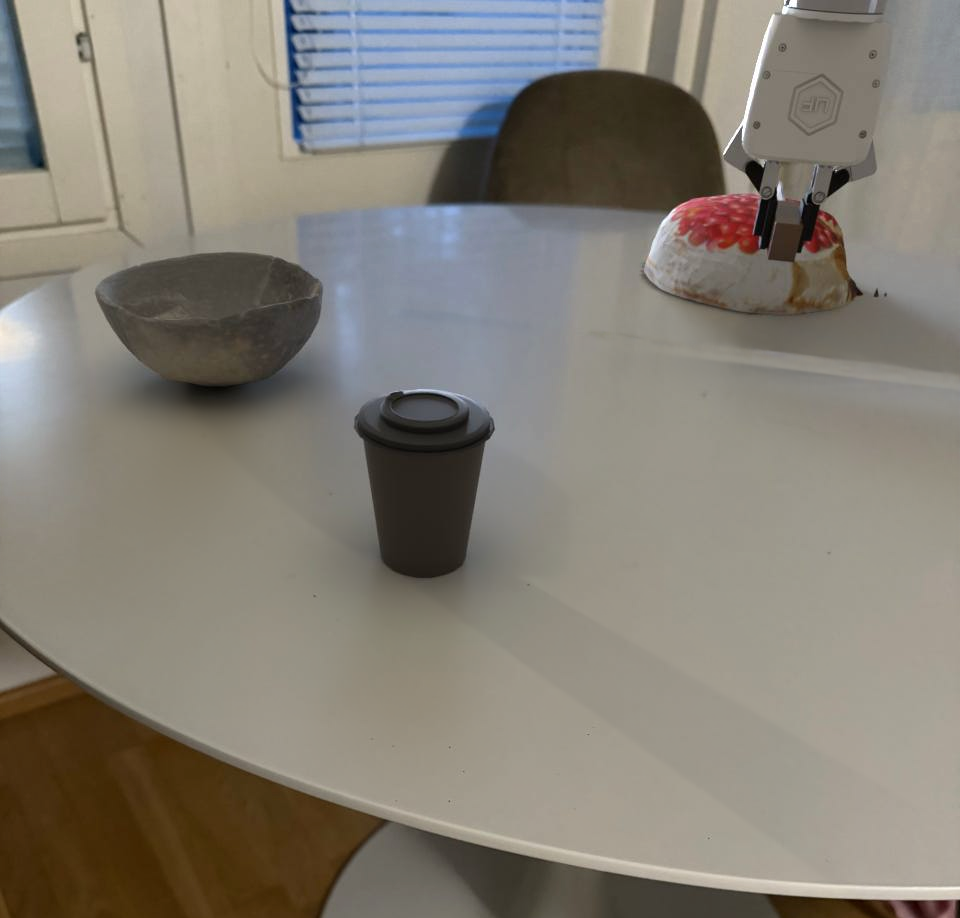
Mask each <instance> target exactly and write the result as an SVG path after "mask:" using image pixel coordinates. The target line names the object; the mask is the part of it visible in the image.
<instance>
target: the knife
mask: <svg viewBox="0 0 960 918" xmlns="http://www.w3.org/2000/svg"><path fill="white" fill-rule="evenodd" d="M776 188H777V199H778V205H777V210H776V215H775V217H774V221H773V226H772V230H771V235H770V240H769V244H768V248H767V255H768V260H775V261H785V262H794V261H795V257H796V253H797V248H798V244H799V240H800V236H801V232H802V228H803V224H802V219H801V215H800V210H799V204H798V202H792V201H785V198H786V196H785V195H786V194H785V188H784V184H783V180H779V181H778V184H777V187H776Z"/></svg>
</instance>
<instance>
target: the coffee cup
mask: <svg viewBox="0 0 960 918" xmlns="http://www.w3.org/2000/svg"><path fill="white" fill-rule="evenodd" d="M353 430H354V431H355V432H356V434H357V436H358V437H359V438H361V440H362V441H363V442H362V443H363V448H364V455H365V460H366V467H367V468H366V469H367V473H368V481H369V487H370V493H371V500H372V505H373V506H372V507H373V511H374V512H373V513H374V520H375V525H376V526H375V527H376V531H377V533H376V534H377V538H378V539H377V540H378V544H379V545H378V547H379V551H380V558H381V559H382V561H383V563H384V565H386V566H387V568H389V569H391V570H392V571H394V572H396V573H399V574H402V575H404V576H410V577H416V578H433V577H439V576H444V575H447V574H449V573H451V572H454V571H455V570H457V569H459V568H460V567H461V566H462V565H463V563H464V561H466V557H467V551H468V546H469V541H470V534H471V529H472V522H473V517H474V516H473V515H474V511H475V506H476V499H477V493H478V489H479V487H478V486H479V481H480V475H481V470H482V465H483V458H484V452H485V447H486V442H487V441H489V440H490V439H491V437H492V436H493V433H494V432H495V430H496V427H495V421H494V418H493V417H491V414H490V412H489V411H488V409H487V408H486V406H484V405H483V404H482V403H481V402H478V401H477V400H475V399H473V398H471V397H469V396H467V395H466V396H465V395H463V394H460V393H456V392H451V391H446V390H440V389H439V390H437V389H427V388H426V389H425V388H424V389H423V388H421V389H419V388H418V389H404V390H400V389H399V390H396V391H392V392H387V393H384V394H381V395H378V396H376V397H373V398H371V399H370V400H368V401H366V402H365V403H364V404H363V405H362V406H361V407H360V409H359V411H358V413H357V414H356V415H355V417H354V422H353Z"/></svg>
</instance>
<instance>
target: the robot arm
mask: <svg viewBox="0 0 960 918" xmlns="http://www.w3.org/2000/svg"><path fill="white" fill-rule="evenodd" d="M783 4H784V5H783V7H782V11H776V12H774V13H772V16H771V18H770V20H769V23H768V26H767V29H766V32H765V34H764V37H763V41H762V44H761V48H760V52H759V55H758V59H757V62H756V65H755V70H754V73H753V77H752V81H751V85H750V90H749V95H748V99H747V102H746V103H747V104H746V109H745V113H744V118H743V120H742V122H741V123H740V124H739V126H738V127H737V130H736V131H735V133H734V135H733V136H732V137H731V139H730V141H729V143H728V145H726V147H725V149H724V151H723V161H724V162H726V163H727V164H729V165H730V166H732V167H733V168H735V169H737V171H739V172H742V173H744V174H745V175H746V176H747V178H748V180H749V182H751V184H752V186H753V187H754V188H755V190H756V191H757V194H760V201H759V205H758V210H757V215H756V220H755V224H754V230H753V236H760V237H759V249H763V250H765V249H766V248H768V244H769V240H770V235H771V230H772V226H773V221H774V217H775V215H776V210H777V205H778V199H777V188H778V187H777V183H778V178H779V174H780V170H781V165H782V162H786V163H794V164H795V163H796V164H807V165H814V168H813V173H812V178H811V181H810V187H809V189H807V190H806V192H805V195H803V197H802V198H801V199H800V201H801V203H800V207H799V210H800V215H801V219H802V224H803V228H802V232H801V236H800V240H799V244H798V248H797V253H801V251H802V247H803V243H804V241H809V242H811V240H812V237H813V233H814V228H815V224H816V220H817V216H818V212H819V210H820V208H821V205H822V204H824V203H825V202H826V200H828V198H829V197H831V196H833V194H835V193H836V192H837V191H839V190H840V189H842V188H843V187H845V185H847V184H849V183H851V182H852V183H853V182H856V181H859V180H862V179H865V178H868V177H870V176H873V175H875V173H876V172H877V170H878V165H877V159H876V151H875V144H874V134H875V131H876V127H877V122H878V117H879V114H880V110H881V109H880V108H881V104H882V100H883V95H884V90H885V84H886V80H887V74H888V67H889V63H890V56H891V48H892V41H893V32H894V31H893V29H894V22H893V21H891V20H888V19H884V16H885V12H886V9H887V5H888V0H783ZM758 159H759V160H758ZM760 160H763V164H761V162H760ZM834 167H836V168H835V169H834Z"/></svg>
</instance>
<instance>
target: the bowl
mask: <svg viewBox="0 0 960 918" xmlns="http://www.w3.org/2000/svg"><path fill="white" fill-rule="evenodd" d="M323 293H324V284H323V282H322V281H321V280H320V279H319V278H317V277H316V276H314V275H312V274H311V272H310V271H309V270H307V269H306V268H305V267H304V266H302V265H300V264H298V263H294V262H292V261H288V260H286V259H284V258H282V257H278V256H274V255H270V254H263V253H256V252H243V251H220V252H219V251H217V252H203V253H202V252H201V253H194V254H188V255H183V256H177V257H169V258H168V257H167V258H163V259H157V260H152V261H148V262H143V263H141V264H138V265H137V264H136V265H134V266H131V267H128V268H125V269H121V270H119V271H116V272H115V273H112V274H110V275H108V276H107V277H105V278H104V279H103V278H102V280H101V281H100V282H99V283H98V285H97V286H96V287H95V290H94V295H95V299H96V302H97V303H98V305H99V307H100V309H101V311H102V313H103V315H104V318H105V320H106V321H107V322H108V324H109V326H110V327H111V329H112V331H113V332H114V333H115V335H116V336H117V338H118V339H119V341H120V342H121V343H122V344H123V345H124V347H125V348H126V349H127V351H129V352H130V353H131V355H133V356H134V357H135V358H136V359H137V360H138V361H139V362H140V363H142V364H143V365H144V366H146V367H148V368H149V369H150V370H152V371H153V372H154V373H156V374H158V375H160V376H161V377H162V378H164V379H165V380H169V381H171V382H179V383H186V384H192V385H198V386H203V387H204V386H205V387H231V386H238V385H245V384H249V383H255V382H260V381H264V380H266V379H268V378H271V377H272V376H273V375H275V374H277V372H279V371H280V370H281V369H283V368H284V367H285V366H286V365H287V364H288V363H289V362H291V361H292V359H293V358H295V357H296V356H297V355H298V353H300V351H301V350H302V349H303V348H304V346H306V343H308V341H309V340H310V339H311V337H312V335H313V333H314V331H315V329H316V328H317V325H318V323H319V320H320V318H321V312H322V304H323V303H322V301H323Z"/></svg>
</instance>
